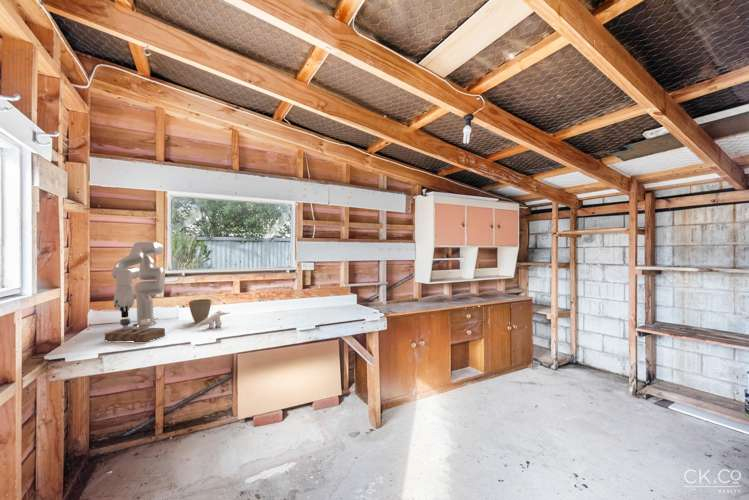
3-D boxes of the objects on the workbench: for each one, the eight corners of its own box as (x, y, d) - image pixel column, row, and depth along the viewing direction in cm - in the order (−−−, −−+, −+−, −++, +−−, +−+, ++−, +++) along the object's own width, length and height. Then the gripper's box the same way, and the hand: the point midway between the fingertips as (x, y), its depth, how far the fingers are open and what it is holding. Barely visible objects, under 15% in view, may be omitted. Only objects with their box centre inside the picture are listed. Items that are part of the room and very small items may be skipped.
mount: (105, 341, 189) (104, 333, 189) (126, 334, 203) (125, 327, 203) (146, 343, 186) (146, 334, 185) (164, 335, 199) (164, 328, 199)
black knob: (125, 330, 198) (125, 318, 198) (132, 330, 197) (132, 318, 197) (118, 332, 193) (118, 319, 193) (125, 332, 192) (125, 320, 192)
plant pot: (205, 324, 227) (204, 302, 227) (184, 324, 227) (184, 302, 226) (215, 319, 242) (215, 298, 241) (196, 319, 242) (195, 299, 241)
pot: (135, 329, 196) (135, 323, 196) (139, 330, 196) (139, 323, 195) (131, 331, 193) (131, 324, 193) (135, 331, 193) (135, 325, 192)
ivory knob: (145, 331, 196) (145, 318, 196) (152, 331, 195) (151, 318, 195) (138, 333, 191) (138, 320, 191) (145, 333, 191) (145, 320, 190)
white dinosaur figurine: (232, 324, 224) (230, 309, 222) (194, 334, 208) (192, 318, 207) (229, 322, 229) (227, 307, 228) (192, 331, 213) (190, 316, 212)
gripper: (129, 286, 202) (130, 314, 202) (107, 289, 187) (107, 320, 188) (140, 286, 201) (140, 314, 202) (118, 289, 186) (118, 320, 187)
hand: (124, 317), depth 195 cm, fingers closed
